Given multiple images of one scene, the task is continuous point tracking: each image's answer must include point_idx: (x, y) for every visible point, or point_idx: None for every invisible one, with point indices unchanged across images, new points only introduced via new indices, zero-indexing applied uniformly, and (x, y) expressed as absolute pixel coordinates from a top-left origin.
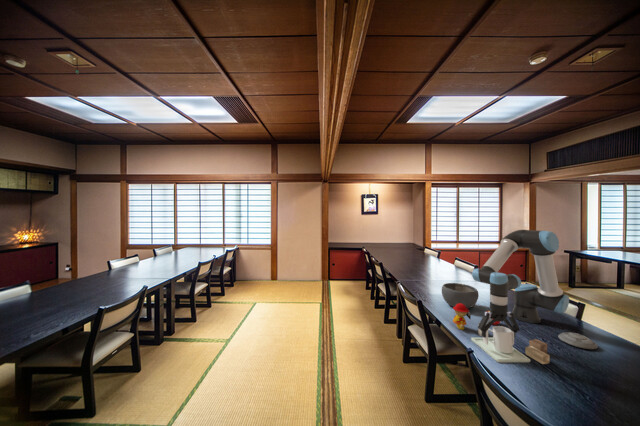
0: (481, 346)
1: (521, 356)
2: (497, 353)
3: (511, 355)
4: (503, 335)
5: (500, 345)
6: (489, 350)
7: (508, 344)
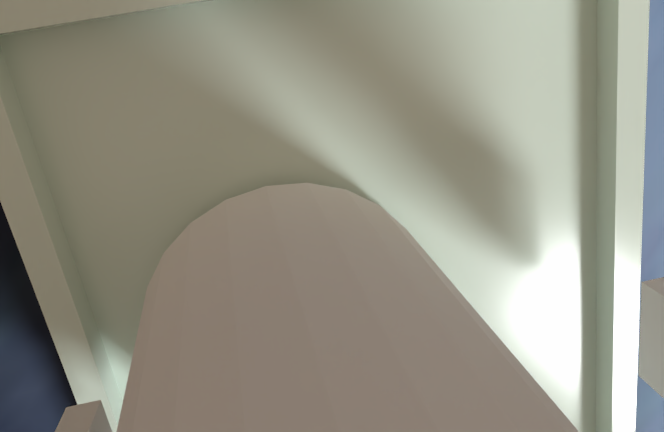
0: (633, 316)
1: (53, 158)
2: (461, 177)
3: (237, 156)
4: (504, 420)
5: (436, 268)
6: (538, 251)
7: (293, 257)
